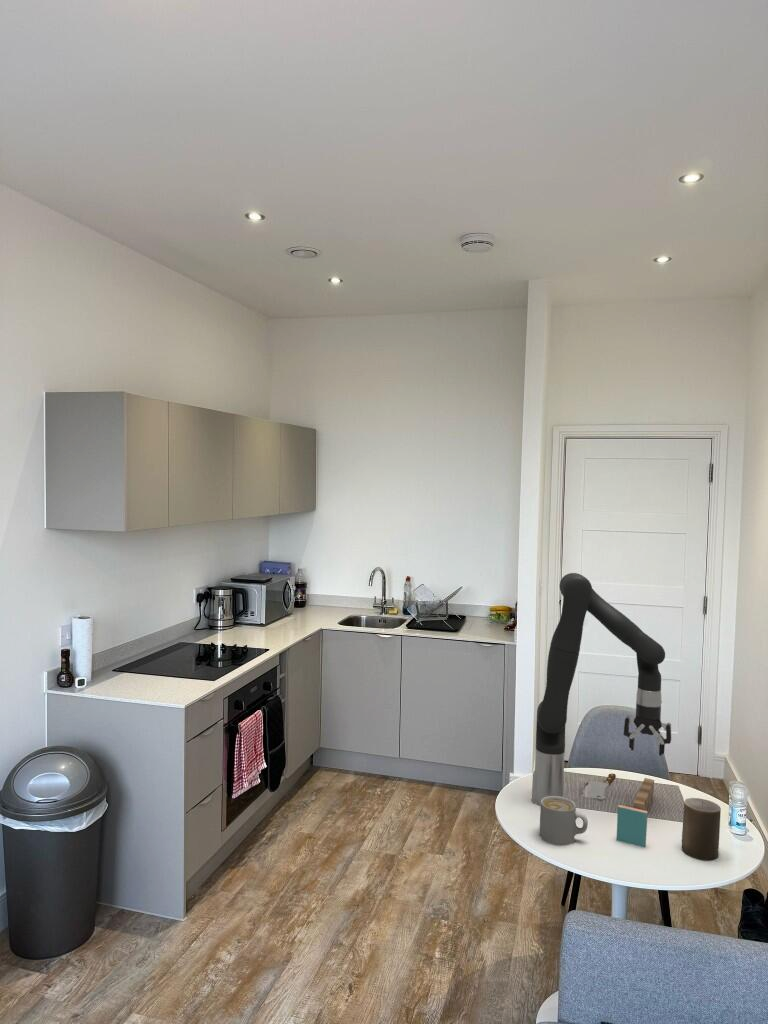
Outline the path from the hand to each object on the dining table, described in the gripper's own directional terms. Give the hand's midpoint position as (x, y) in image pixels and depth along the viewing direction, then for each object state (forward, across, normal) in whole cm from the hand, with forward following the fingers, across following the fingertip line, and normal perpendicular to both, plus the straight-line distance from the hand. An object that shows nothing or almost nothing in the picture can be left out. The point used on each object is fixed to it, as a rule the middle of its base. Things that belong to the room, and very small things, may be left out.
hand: (646, 752), depth 231 cm
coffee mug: (+18, -18, -34) cm, 43 cm away
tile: (+18, 0, -26) cm, 32 cm away
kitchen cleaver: (+19, -16, +10) cm, 27 cm away
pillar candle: (+19, +18, -21) cm, 33 cm away
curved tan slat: (+19, 0, 0) cm, 19 cm away
